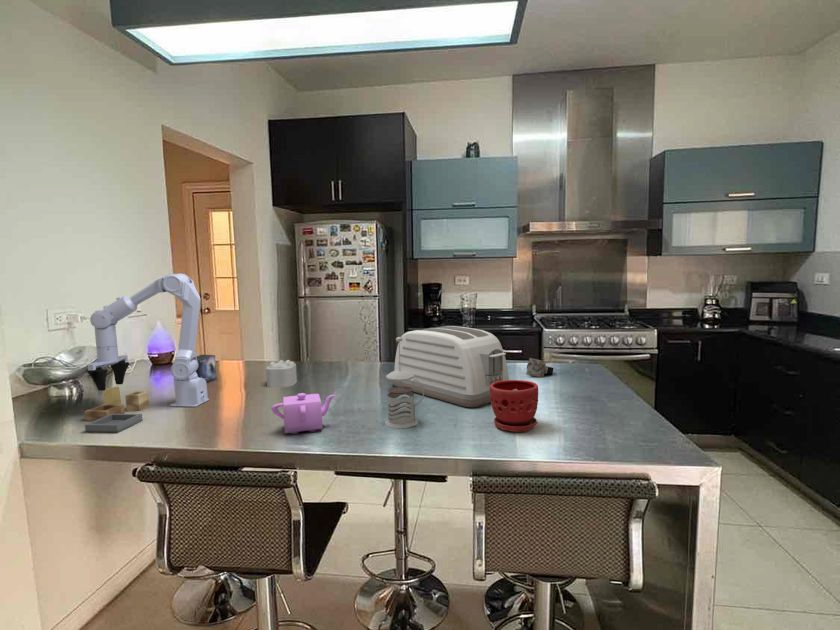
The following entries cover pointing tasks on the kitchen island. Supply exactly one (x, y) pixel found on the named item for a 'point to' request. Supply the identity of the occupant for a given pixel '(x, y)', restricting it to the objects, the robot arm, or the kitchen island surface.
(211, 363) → the small box
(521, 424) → the plant pot
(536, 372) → the mottled grey-brown block
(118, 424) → the tray
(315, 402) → the teapot
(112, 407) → the brown rectangular frame
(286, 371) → the lumpy-topped squat cylinder
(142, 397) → the block
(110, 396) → the gold rectangular block
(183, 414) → the kitchen island surface
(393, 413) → the french press
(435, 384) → the toaster
